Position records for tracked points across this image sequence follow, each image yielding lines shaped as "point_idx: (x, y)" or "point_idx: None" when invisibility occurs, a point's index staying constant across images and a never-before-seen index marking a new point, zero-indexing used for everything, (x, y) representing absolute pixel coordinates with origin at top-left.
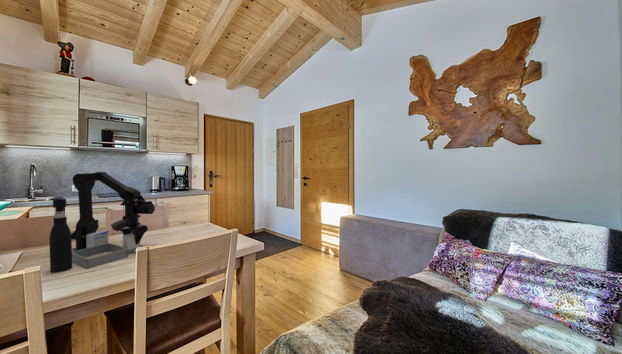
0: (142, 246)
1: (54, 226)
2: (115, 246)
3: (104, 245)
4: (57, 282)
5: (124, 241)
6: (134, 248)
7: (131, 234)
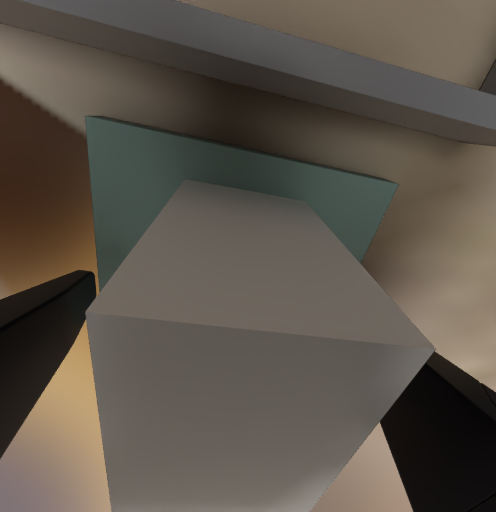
0: None
1: None
2: (335, 56)
3: None
4: None
5: (288, 241)
6: None
7: (253, 456)
